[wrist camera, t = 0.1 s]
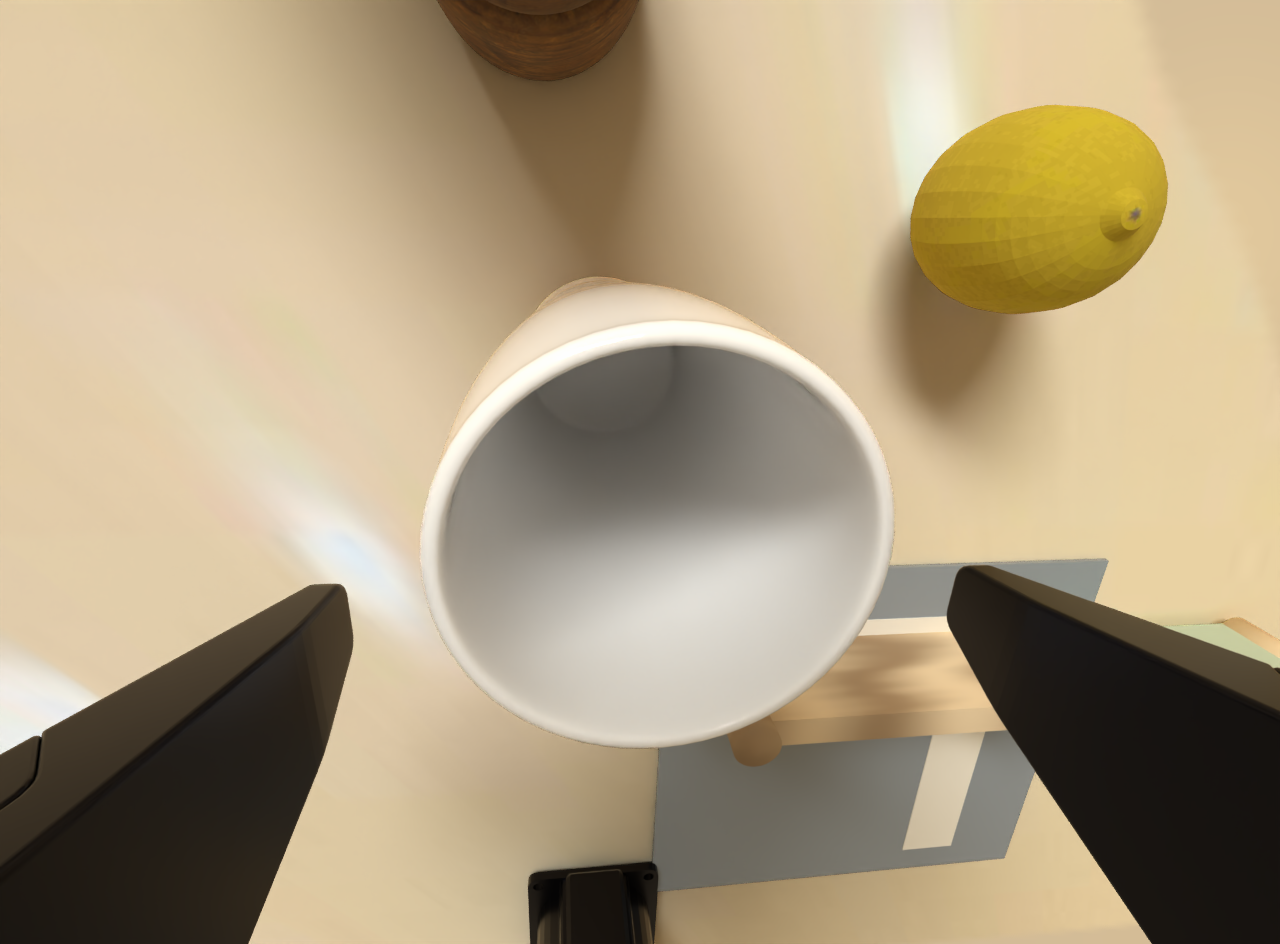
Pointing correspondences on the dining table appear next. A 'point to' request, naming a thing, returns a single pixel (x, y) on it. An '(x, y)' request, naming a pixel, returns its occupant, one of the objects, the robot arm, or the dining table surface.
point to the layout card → (853, 777)
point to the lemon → (1039, 209)
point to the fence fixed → (877, 698)
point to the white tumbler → (652, 520)
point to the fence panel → (1237, 639)
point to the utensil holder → (540, 33)
